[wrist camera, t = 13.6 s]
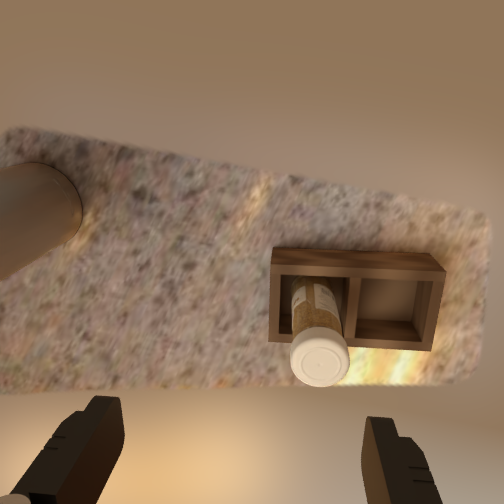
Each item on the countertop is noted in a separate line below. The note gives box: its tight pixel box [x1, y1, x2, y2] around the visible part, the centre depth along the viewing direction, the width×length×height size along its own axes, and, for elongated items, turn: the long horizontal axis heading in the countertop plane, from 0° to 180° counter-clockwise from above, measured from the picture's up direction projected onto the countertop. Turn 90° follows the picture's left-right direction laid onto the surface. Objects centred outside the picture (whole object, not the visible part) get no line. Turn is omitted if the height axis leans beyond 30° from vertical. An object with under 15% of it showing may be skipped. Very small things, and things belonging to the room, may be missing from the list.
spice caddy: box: [268, 247, 446, 351], centre depth 41 cm, size 16×9×5 cm, turn 90°
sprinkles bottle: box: [290, 275, 350, 387], centre depth 37 cm, size 5×5×14 cm
